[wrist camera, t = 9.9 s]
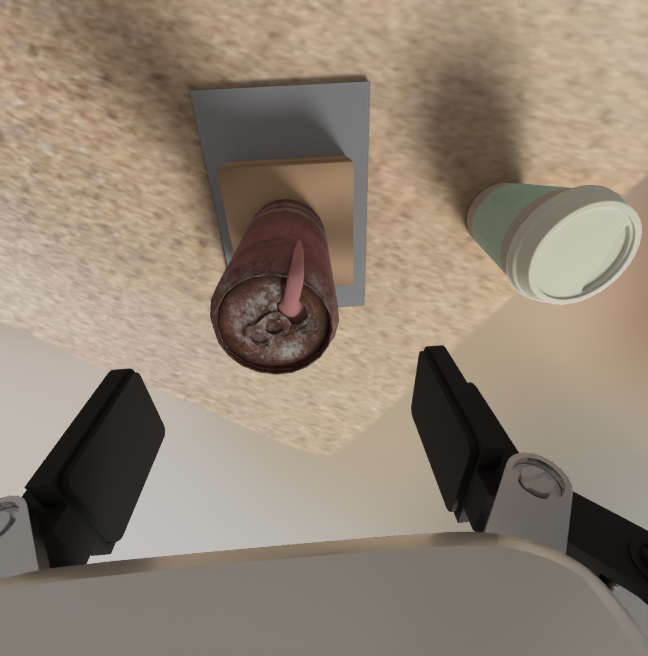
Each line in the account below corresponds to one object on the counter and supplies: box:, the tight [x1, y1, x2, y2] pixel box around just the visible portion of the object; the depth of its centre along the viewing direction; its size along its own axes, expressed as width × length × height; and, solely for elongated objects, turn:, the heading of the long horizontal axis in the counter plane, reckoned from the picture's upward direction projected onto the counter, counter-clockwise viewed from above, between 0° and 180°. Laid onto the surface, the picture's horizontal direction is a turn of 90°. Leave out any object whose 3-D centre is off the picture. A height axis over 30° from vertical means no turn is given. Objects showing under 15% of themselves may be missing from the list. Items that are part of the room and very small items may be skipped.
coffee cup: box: [466, 182, 642, 304], centre depth 27 cm, size 9×9×12 cm
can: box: [210, 199, 339, 374], centre depth 21 cm, size 6×6×14 cm
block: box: [217, 155, 354, 287], centre depth 29 cm, size 10×10×5 cm
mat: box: [189, 81, 370, 307], centre depth 31 cm, size 20×14×1 cm
